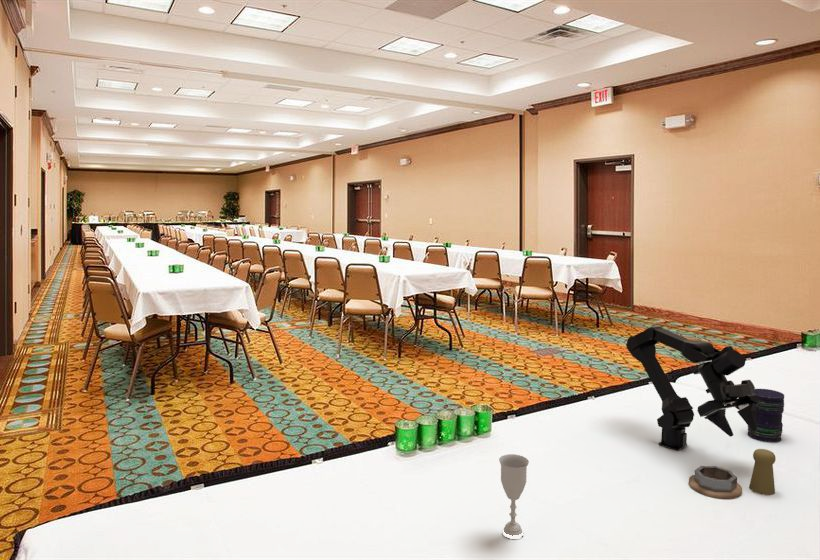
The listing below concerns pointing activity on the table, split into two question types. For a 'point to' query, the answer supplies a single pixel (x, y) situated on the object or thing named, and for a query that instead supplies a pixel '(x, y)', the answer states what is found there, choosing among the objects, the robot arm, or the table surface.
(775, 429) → the storage jar
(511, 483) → the chalice
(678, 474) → the table surface
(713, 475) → the coupling socket
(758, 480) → the cork
